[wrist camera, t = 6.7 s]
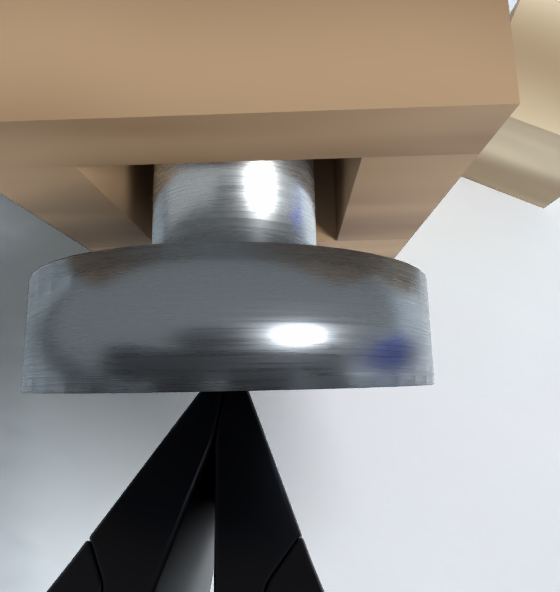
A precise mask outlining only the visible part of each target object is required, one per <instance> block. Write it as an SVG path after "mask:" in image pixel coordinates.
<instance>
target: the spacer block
mask: <svg viewBox="0 0 560 592" xmlns="http://www.w3.org/2000/svg"><path fill="white" fill-rule="evenodd" d="M510 22H511V31H512V39H513V48H514V56H515V65H516V73H517V82H518V90H519V99H520V104H519V106H518V107H517V108H516V109H515V111H514V112H513V113H512V114H511V116H510V117H509V118H508V119H507V120H506V122H505V123H504V124H503V125H502V127H501V128H500V129H499V130H498V131H497V133H496V134H495V135H494V136H493V138H492V139H491V140H490V141H489V143H488V144H487V145H486V146H485V147H484V149H483V150H482V151H481V152H480V154H479V155H478V156H477V157H476V158H475V160H474V161H473V162H472V163H471V165H470V166H469V167H468V168H467V170H466V171H465V172H464V173H463V174H462V177H465V178H467V179H470V180H472V181H475V182H477V183H480V184H482V185H485V186H488V187H490V188H493V189H495V190H498V191H500V192H503V193H506V194H508V195H511V196H513V197H516V198H518V199H521V200H524V201H526V202H529V203H531V204H534V205H536V206H539V207H542V208H545V207H546V206H548V205H549V204H550V203H552V202H553V201H555V200H556V199H558V198H559V197H560V1H558V0H518V1H517V3H516V4H515V6H514V8H513V9H512V11H511V13H510Z"/></svg>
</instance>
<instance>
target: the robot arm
mask: <svg viewBox="0 0 560 592" xmlns="http://www.w3.org/2000/svg"><path fill="white" fill-rule="evenodd" d="M213 570H214V592H324V590H323V588H322V585H321V583H320V580H319V578H318V575H317V573H316V570H315V568H314V566H313V563H312V561H311V558H310V555H309V553H308V550H307V547H306V544H305V542H304V539H303V538H302V534H301V532H300V529H299V526H298V523H297V521H296V518H295V515H294V513H293V510H292V507H291V504H290V502H289V499H288V496H287V494H286V491H285V488H284V486H283V483H282V480H281V477H280V475H279V472H278V469H277V467H276V464H275V461H274V459H273V456H272V453H271V450H270V448H269V445H268V442H267V440H266V437H265V434H264V431H263V429H262V426H261V423H260V421H259V418H258V415H257V413H256V410H255V407H254V404H253V402H252V399H251V396H250V394H249V391H210V392H199V393H198V395H197V396H196V397H195V399H194V400H193V401H192V403H191V404H190V405H189V407H188V408H187V409H186V411H185V412H184V413H183V415H182V416H181V417H180V418H179V420H178V421H177V422H176V424H175V425H174V426H173V428H172V429H171V430H170V432H169V433H168V434H167V436H166V437H165V438H164V440H163V441H162V442H161V444H160V445H159V446H158V447H157V449H156V450H155V451H154V453H153V454H152V455H151V457H150V458H149V459H148V461H147V462H146V463H145V465H144V466H143V467H142V469H141V470H140V471H139V473H138V474H137V475H136V477H135V478H134V479H133V480H132V482H131V483H130V484H129V486H128V487H127V488H126V490H125V491H124V492H123V494H122V495H121V496H120V498H119V499H118V500H117V502H116V503H115V504H114V505H113V507H112V508H111V509H110V511H109V512H108V513H107V515H106V516H105V517H104V519H103V520H102V521H101V523H100V524H99V525H98V527H97V528H96V529H95V531H94V532H93V533H92V534H91V536H90V541H86V542H85V543H84V545H83V546H82V547H81V549H80V550H79V551H78V553H77V554H76V555H75V557H74V558H73V559H72V561H71V562H70V563H69V564H68V566H67V567H66V568H65V569H64V571H63V572H62V573H61V574H60V576H59V577H58V578H57V579H56V581H55V582H54V583H53V584H52V586H51V587H50V588H49V590H48V591H47V592H210V587H211V581H212V576H213Z"/></svg>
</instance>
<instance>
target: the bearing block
mask: <svg viewBox="0 0 560 592" xmlns="http://www.w3.org/2000/svg"><path fill="white" fill-rule="evenodd" d="M519 104H520V99H519V90H518V82H517V73H516V65H515V56H514V48H513V39H512V31H511V22H510V14H509V5H508V0H0V194H2V195H4V196H5V197H7V198H8V199H10V200H11V201H13V202H15V203H16V204H18V205H19V206H21V207H22V208H24V209H26V210H27V211H29V212H30V213H32V214H34V215H35V216H37V217H38V218H40V219H41V220H43V221H45V222H46V223H48V224H49V225H51V226H52V227H54V228H56V229H57V230H59V231H60V232H62V233H64V234H65V235H67V236H68V237H70V238H71V239H73V240H75V241H76V242H78V243H79V244H81V245H82V246H84V247H86V248H87V249H89V250H90V251H92V252H93V251H99V250H106V249H113V248H120V247H128V246H139V245H150V244H152V221H153V187H154V164H177V163H208V162H240V161H271V160H302V159H314V186H315V216H316V245H317V246H326V247H334V248H343V249H349V250H355V251H361V252H367V253H372V254H377V255H381V256H385V257H389V258H393V259H394V258H395V257H396V255H397V254H398V253H399V252H400V251H401V249H402V248H403V247H404V246H405V244H406V243H407V242H408V241H409V240H410V238H411V237H412V236H413V235H414V233H415V232H416V231H417V230H418V228H419V227H420V226H421V225H422V224H423V222H424V221H425V220H426V219H427V217H428V216H429V215H430V214H431V213H432V211H433V210H434V209H435V208H436V206H437V205H438V204H439V203H440V201H441V200H442V199H443V198H444V197H445V195H446V194H447V193H448V192H449V190H450V189H451V188H452V187H453V185H454V184H455V183H456V182H457V181H458V179H459V178H460V177H461V176H462V174H463V173H464V172H465V171H466V170H467V168H468V167H469V166H470V165H471V163H472V162H473V161H474V160H475V158H476V157H477V156H478V155H479V154H480V152H481V151H482V150H483V149H484V147H485V146H486V145H487V144H488V143H489V141H490V140H491V139H492V138H493V136H494V135H495V134H496V133H497V131H498V130H499V129H500V128H501V127H502V125H503V124H504V123H505V122H506V120H507V119H508V118H509V117H510V116H511V114H512V113H513V112H514V111H515V109H516V108H517V107H518V106H519Z"/></svg>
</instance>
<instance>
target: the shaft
mask: <svg viewBox="0 0 560 592" xmlns="http://www.w3.org/2000/svg"><path fill="white" fill-rule="evenodd" d="M433 384H434V373H433V360H432V347H431V333H430V320H429V306H428V293H427V280H426V277H425V274H424V273H422V272H421V271H420V270H419V269H418V268H416V267H414V266H412V265H410V264H408V263H405V262H402V261H399V260H396V259H393V258H389V257H385V256H381V255H377V254H372V253H367V252H361V251H355V250H349V249H343V248H334V247H326V246H317V245H316V216H315V186H314V159H302V160H271V161H240V162H208V163H177V164H154V187H153V221H152V244H150V245H139V246H128V247H120V248H113V249H106V250H99V251H93V252H88V253H83V254H78V255H73V256H70V257H66V258H63V259H59V260H56V261H53V262H51V263H48V264H46V265H44V266H41V267H39V268H38V269H37V270H36V271H34V272H33V273H32V274H31V277H30V279H29V290H28V304H27V317H26V330H25V344H24V357H23V371H22V384H21V393H153V392H210V391H257V390H299V389H336V388H368V387H397V386H419V385H433Z"/></svg>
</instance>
